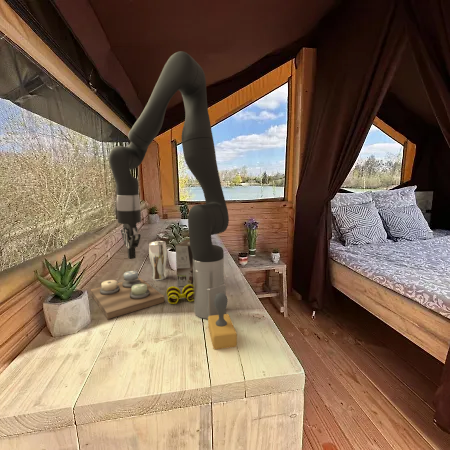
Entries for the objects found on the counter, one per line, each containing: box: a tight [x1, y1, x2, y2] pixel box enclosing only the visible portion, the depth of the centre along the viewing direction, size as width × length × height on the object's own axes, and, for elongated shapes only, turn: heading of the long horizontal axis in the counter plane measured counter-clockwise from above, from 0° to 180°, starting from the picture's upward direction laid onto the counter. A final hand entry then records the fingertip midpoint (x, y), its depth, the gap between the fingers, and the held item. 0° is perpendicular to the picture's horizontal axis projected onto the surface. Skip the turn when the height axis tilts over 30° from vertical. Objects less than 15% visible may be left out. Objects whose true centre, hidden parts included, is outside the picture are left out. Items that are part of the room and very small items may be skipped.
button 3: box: [123, 270, 139, 281], centre depth 100 cm, size 5×5×2 cm
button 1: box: [100, 279, 118, 291], centre depth 95 cm, size 5×5×2 cm
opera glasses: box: [165, 284, 194, 305], centre depth 92 cm, size 10×5×5 cm, turn 107°
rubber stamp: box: [207, 293, 238, 350], centre depth 70 cm, size 10×6×12 cm, turn 11°
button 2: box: [131, 284, 147, 295], centre depth 91 cm, size 5×5×2 cm
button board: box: [90, 277, 165, 320], centre depth 94 cm, size 22×18×3 cm
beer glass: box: [148, 240, 168, 282], centre depth 111 cm, size 7×7×15 cm
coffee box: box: [175, 240, 194, 288], centre depth 106 cm, size 9×6×16 cm
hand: (131, 258), depth 94 cm, fingers closed
